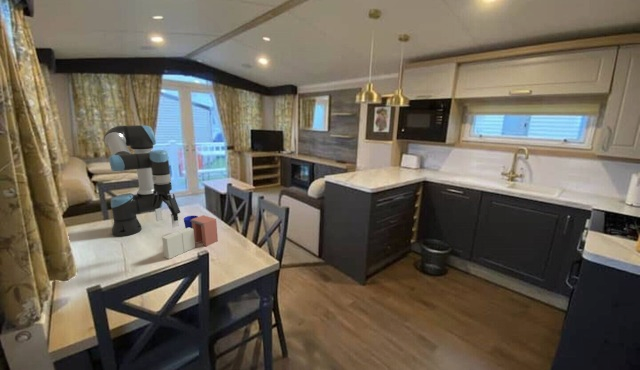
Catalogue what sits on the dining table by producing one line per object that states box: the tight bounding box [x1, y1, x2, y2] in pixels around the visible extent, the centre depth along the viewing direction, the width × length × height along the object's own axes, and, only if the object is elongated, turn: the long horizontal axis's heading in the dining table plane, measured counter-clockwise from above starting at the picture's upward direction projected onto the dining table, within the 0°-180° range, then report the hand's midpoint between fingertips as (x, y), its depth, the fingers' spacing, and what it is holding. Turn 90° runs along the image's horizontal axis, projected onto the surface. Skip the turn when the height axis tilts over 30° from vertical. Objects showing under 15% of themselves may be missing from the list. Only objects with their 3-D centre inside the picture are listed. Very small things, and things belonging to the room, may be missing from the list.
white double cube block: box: [161, 227, 196, 260], centre depth 147 cm, size 4×15×11 cm, turn 150°
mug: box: [183, 215, 199, 229], centre depth 171 cm, size 8×12×10 cm
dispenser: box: [190, 214, 219, 247], centre depth 160 cm, size 11×9×14 cm
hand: (167, 223), depth 140 cm, fingers open, 13 cm apart
